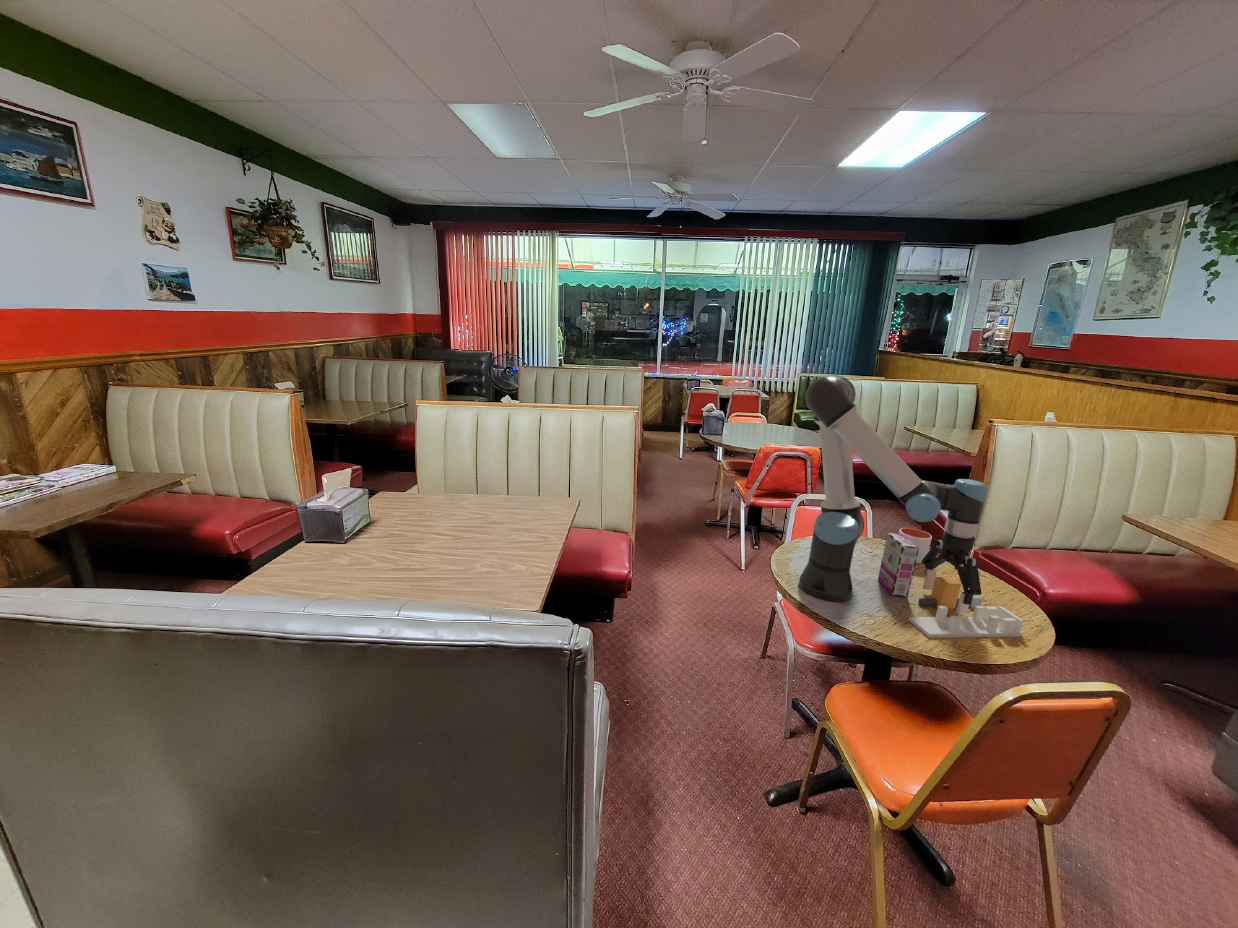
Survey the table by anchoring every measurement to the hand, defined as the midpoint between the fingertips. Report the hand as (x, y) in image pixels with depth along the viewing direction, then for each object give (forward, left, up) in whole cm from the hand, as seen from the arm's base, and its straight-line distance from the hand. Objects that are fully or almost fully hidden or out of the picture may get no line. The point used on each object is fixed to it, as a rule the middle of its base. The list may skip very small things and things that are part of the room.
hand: (943, 600), depth 144 cm
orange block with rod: (+2, 0, -1) cm, 2 cm away
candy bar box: (-9, +10, -2) cm, 14 cm away
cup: (+12, +31, -2) cm, 33 cm away
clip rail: (-3, -12, -1) cm, 12 cm away
